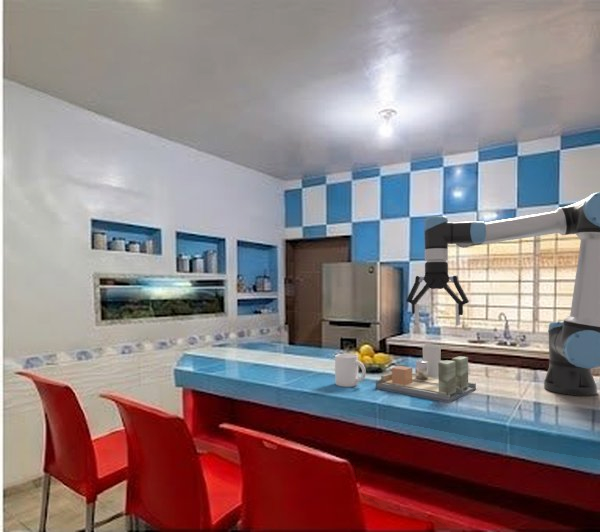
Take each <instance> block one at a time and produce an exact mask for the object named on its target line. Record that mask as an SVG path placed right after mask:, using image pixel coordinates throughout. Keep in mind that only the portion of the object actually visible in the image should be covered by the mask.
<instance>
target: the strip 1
mask: <svg viewBox="0 0 600 532" xmlns="http://www.w3.org/2000/svg"><path fill="white" fill-rule="evenodd" d="M380 379H381V383H385V384H391V385H396V386H402V387H408V388H413V389H419V390H424V391H430V392H435V393H441V394H446V395H452V394H454V393H456V374H455V361H452V360H448V359H446V360H441V362H439V363H438V379H439V386H436V385H430V384H424V383H418V382H412V383H409V384H407V385H402V384H397V383H392V372H390V373H387V374H384V375H381V378H380Z"/></svg>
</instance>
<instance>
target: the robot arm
mask: <svg viewBox="0 0 600 532" xmlns="http://www.w3.org/2000/svg"><path fill="white" fill-rule="evenodd" d="M553 234H555V235H556V234H560V235H561V236H566V235H576V236H577V238H579V240H580V243H579V252H578V256H577V257H578V259H577V264H576V271H575V278H574V285H573V293H572V300H571V305H570V306H571V307H570V314H569V315H568V316H567V317H565V318H563V321H552V322H550V323H549V324H548V330H547V332H548V354H549V356H548V358H549V361H548V362H549V366H548V369H547V372H546V375H545V376H544V380H543V386H544V389H545V390H547V391H550V392H552V393H557V394H562V395H563V394H564V395H569V396H584V397H585V396H587V397H588V396H594V395H597V394H598V386H597V384H596V381H595V378H594V376H593V373H592V370H591V369H595V368H598V367H600V191H598V192H597V191H596V192H593V193H592V194H590V195H588V196H587V197H586V198H583V199H582V200H580V201H578V202H575V203H573V204H570V205H566V206H562V207H557V209H556V210H555V211H550V212H543V213H538V214H530V215H524V216H519V217H513V218H507V219H501V220H500V219H499V220H494V221H489V222H484V221H483V220H479V221H478V220H477V221H476V220H472V221H454V222H453V221H449V220H448V217H447V216H445V215H433V216H432V215H431V216H428V217H426V219H424V261H425V263H424V276H420V275H416V276H415V278H414V279H415V280H414V284H413V286H412V288H411V289H410V292H409V294H408V296H407V298H406V303H409V304H411V312H412V314H414V324H420V304H419V303H418V302H419V301H420V300H421V298H423V296H424V295H425V294H426V293H427V292H428V291H429V290H430V289H431V290H435V289H437V290H442V289H444V290H445V291H446V293H448V295H450V297H451V298H452V300H454V301H455V302H456V304H457V305H455V325H456V326H460V325H461V316H463V315H464V305H466V304H468V303H469V301H470V300H469V299H468V297H467V295H466V293H465V291H464V289H463V287H462V286H461V284H460V282H459V277H458V275H453V276H452V275H451V276H449V263H448V262H447V261H448V260H449V258H448V257H449V256H448V255H449V254H448V253H449V249H448V245H456V246H457V247H460V248H462V249H463V248H465V249H466V248H470V247H473V246H479V245H487V244H493V243H498V242H499V243H500V242H505V241H513V240H514V241H515V240H521V239H526V238H534V237H540V236H547V235H553ZM423 281H424V283H425V285H423V288H422V289H421V290H420V291H419V292H418V293H417V291H418V289H419V287H420V284H421V283H422V282H423ZM450 281H451V283H453V285H454V286H455V288H456V290H457V292H458V294H459V296H460V298H459V296H458V295H457V294H456V293H455V291H454V290H453V289H452V288H451V287H450V286H449V284H448V283H449V282H450ZM416 293H417V295H416ZM415 295H416V296H415Z"/></svg>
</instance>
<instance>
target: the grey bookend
mask: <svg viewBox="0 0 600 532" xmlns="http://www.w3.org/2000/svg"><path fill="white" fill-rule="evenodd" d="M441 349H442V348H441V345H438V344H422V361H428V376H431V377H438V363H439V362H442V360H441V357H442V356H441V355H442V354H441Z"/></svg>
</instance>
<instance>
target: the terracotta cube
mask: <svg viewBox="0 0 600 532" xmlns="http://www.w3.org/2000/svg"><path fill="white" fill-rule="evenodd" d="M391 373H392V383H397V384H402V385H407V384H409V383H412V374H413V367H410V366H402V365H401V366H400V365H398V366H395V367H392V368H391Z"/></svg>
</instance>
